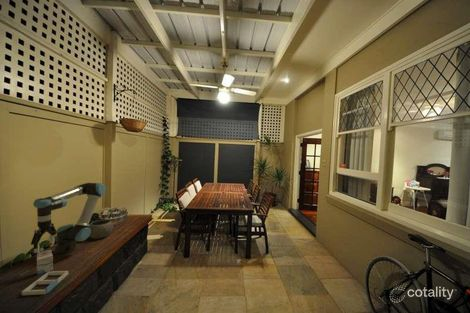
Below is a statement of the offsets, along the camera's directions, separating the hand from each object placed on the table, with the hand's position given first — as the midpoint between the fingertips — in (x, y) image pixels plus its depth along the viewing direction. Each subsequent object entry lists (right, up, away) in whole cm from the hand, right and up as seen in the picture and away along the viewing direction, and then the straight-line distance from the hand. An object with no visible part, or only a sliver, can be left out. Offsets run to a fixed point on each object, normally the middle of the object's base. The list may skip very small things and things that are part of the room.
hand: (44, 247), depth 148 cm
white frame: (+14, -19, -13) cm, 27 cm away
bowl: (-1, -17, +62) cm, 64 cm away
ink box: (-1, -19, +1) cm, 19 cm away
